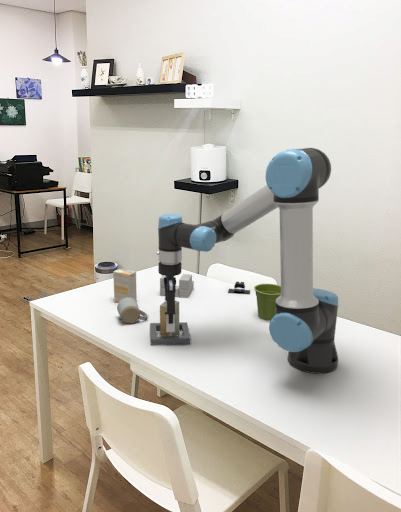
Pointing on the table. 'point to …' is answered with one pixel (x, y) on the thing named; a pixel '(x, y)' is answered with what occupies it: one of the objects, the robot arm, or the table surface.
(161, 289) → the puzzle cube
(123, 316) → the ceramic mug
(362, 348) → the table surface
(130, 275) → the supplement box
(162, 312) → the skincare box
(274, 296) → the plant pot
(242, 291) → the black bracket
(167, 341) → the grey frame stand
